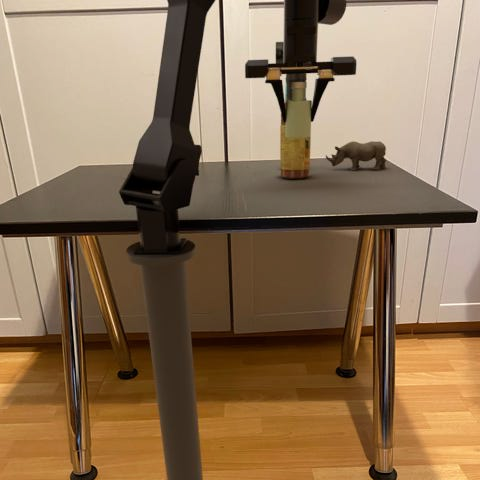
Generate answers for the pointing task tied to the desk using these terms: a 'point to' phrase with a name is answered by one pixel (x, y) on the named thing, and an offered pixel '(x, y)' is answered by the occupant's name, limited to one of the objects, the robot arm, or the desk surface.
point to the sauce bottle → (294, 142)
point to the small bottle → (298, 113)
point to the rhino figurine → (360, 154)
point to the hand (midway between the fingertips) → (298, 121)
